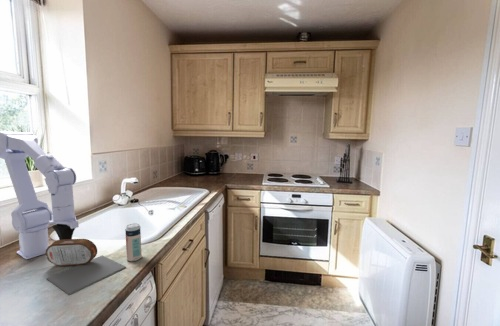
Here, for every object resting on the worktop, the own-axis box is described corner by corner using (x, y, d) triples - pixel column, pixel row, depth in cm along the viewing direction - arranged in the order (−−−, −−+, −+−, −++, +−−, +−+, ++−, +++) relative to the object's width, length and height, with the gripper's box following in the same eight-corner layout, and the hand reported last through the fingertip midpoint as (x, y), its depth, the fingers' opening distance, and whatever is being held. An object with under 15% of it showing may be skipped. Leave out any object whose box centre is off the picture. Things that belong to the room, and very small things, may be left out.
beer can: (132, 254, 87) (131, 222, 86) (144, 256, 86) (143, 223, 85) (123, 261, 82) (121, 227, 81) (135, 262, 81) (134, 228, 80)
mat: (46, 278, 72) (46, 277, 72) (102, 256, 86) (102, 255, 86) (69, 295, 65) (68, 293, 65) (125, 267, 78) (125, 266, 78)
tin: (99, 259, 82) (95, 236, 80) (94, 265, 78) (89, 241, 77) (54, 262, 81) (49, 239, 79) (46, 268, 78) (41, 244, 76)
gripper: (38, 204, 80) (42, 244, 82) (58, 212, 73) (62, 255, 74) (63, 200, 86) (66, 236, 88) (84, 206, 79) (87, 246, 80)
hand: (66, 244), depth 81 cm, fingers closed
